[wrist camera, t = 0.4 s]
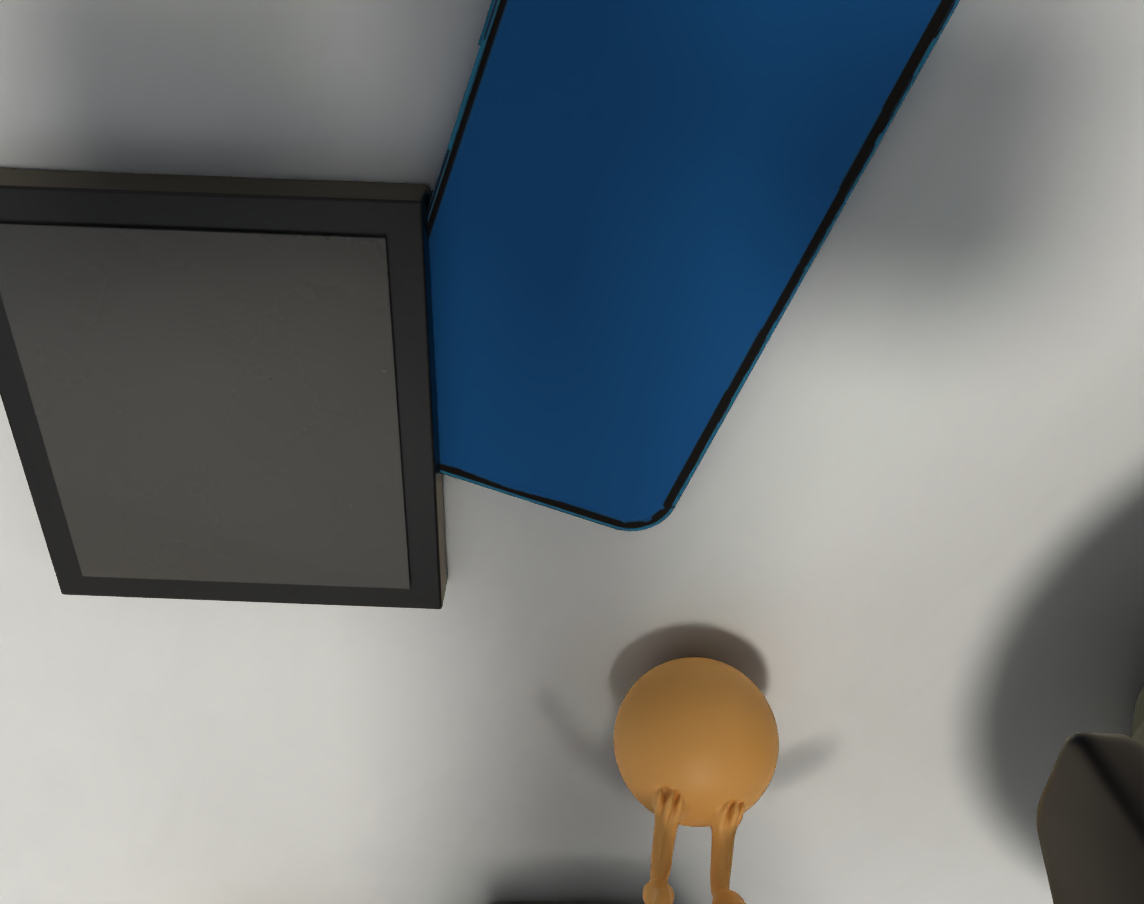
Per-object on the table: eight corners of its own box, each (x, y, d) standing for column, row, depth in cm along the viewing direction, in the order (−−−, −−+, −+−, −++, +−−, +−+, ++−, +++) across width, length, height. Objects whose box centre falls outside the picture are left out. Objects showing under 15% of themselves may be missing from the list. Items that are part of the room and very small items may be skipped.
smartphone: (348, 444, 23) (606, -356, 15) (357, 420, 24) (605, -353, 16) (657, 543, 25) (1044, -143, 17) (655, 517, 26) (1024, -150, 17)
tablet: (447, 582, 26) (441, 612, 25) (78, 568, 26) (59, 598, 25) (429, 183, 20) (420, 204, 20) (-39, 165, 20) (-70, 184, 20)
